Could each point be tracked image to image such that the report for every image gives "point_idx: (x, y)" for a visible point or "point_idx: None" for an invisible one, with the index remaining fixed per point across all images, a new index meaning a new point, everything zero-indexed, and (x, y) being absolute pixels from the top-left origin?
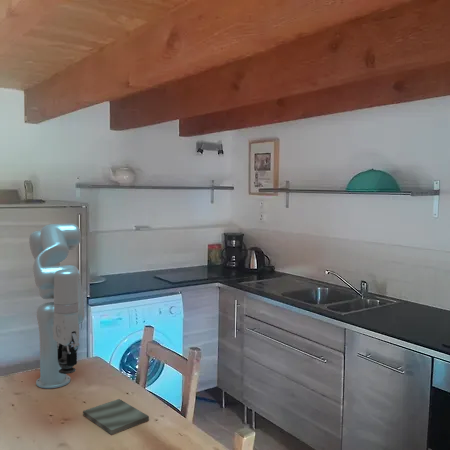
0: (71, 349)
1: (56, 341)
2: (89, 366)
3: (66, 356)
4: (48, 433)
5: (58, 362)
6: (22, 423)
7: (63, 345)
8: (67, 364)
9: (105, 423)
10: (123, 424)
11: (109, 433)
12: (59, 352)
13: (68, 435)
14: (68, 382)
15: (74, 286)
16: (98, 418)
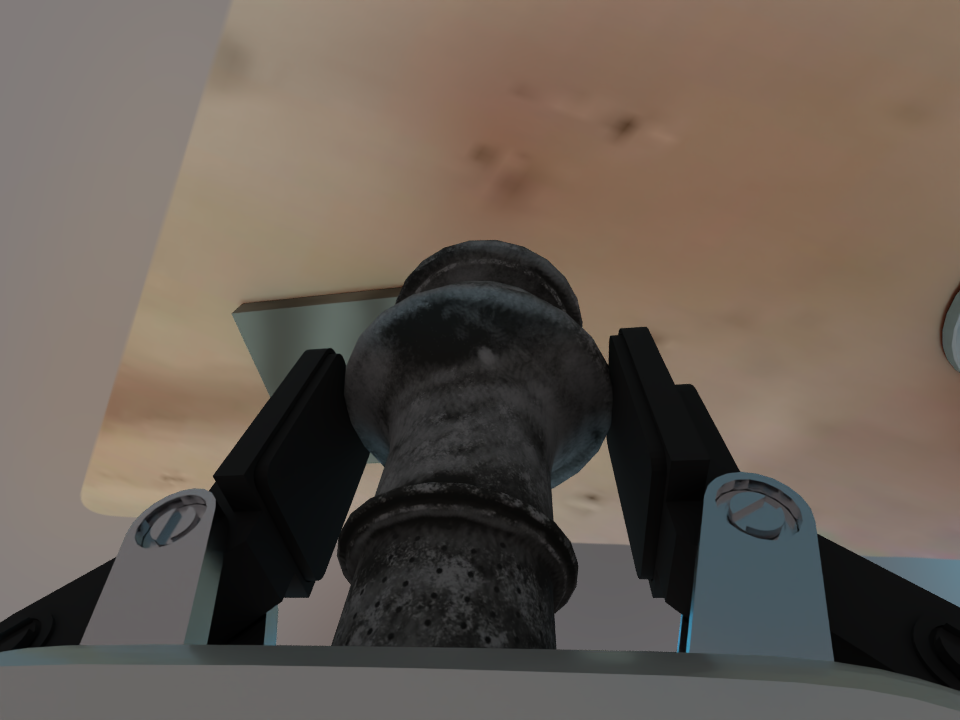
0: (71, 618)
1: (620, 665)
2: None
3: (390, 441)
4: (394, 24)
5: (458, 286)
6: None
7: (384, 619)
8: (300, 359)
9: (310, 319)
10: (268, 372)
11: (257, 302)
12: (638, 423)
13: (318, 128)
14: (950, 361)
15: None
16: (376, 314)
